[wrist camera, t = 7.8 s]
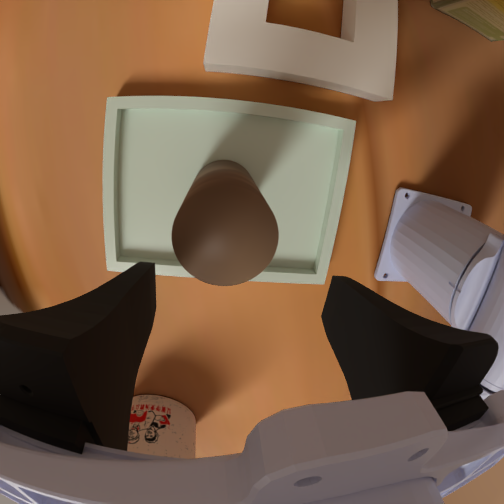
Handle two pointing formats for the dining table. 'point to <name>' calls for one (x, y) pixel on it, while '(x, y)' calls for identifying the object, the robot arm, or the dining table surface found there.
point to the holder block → (308, 47)
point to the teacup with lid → (161, 427)
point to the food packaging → (476, 15)
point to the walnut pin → (224, 226)
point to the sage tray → (222, 148)
